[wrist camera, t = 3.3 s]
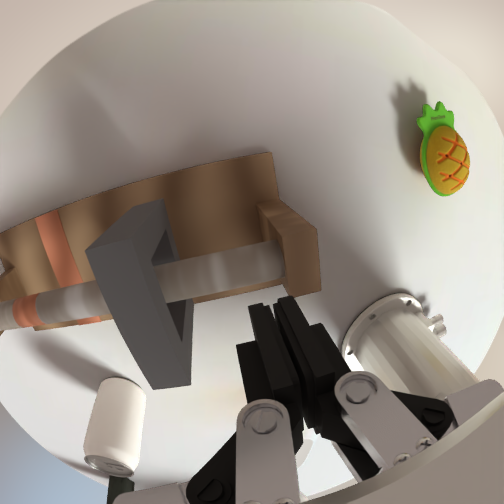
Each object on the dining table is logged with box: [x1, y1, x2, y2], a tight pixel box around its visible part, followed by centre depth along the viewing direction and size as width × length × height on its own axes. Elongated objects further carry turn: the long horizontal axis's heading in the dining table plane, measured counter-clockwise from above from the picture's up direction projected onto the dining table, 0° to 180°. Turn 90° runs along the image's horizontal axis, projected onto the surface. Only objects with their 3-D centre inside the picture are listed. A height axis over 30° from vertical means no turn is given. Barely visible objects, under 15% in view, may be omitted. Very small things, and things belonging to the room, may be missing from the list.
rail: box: [0, 152, 321, 336], centre depth 19 cm, size 30×12×10 cm, turn 100°
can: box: [83, 377, 146, 477], centre depth 24 cm, size 6×6×12 cm
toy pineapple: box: [417, 101, 470, 196], centre depth 22 cm, size 7×10×5 cm
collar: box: [85, 198, 194, 390], centre depth 17 cm, size 2×9×9 cm, turn 10°
